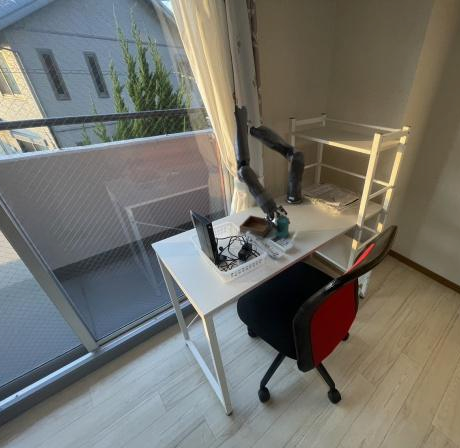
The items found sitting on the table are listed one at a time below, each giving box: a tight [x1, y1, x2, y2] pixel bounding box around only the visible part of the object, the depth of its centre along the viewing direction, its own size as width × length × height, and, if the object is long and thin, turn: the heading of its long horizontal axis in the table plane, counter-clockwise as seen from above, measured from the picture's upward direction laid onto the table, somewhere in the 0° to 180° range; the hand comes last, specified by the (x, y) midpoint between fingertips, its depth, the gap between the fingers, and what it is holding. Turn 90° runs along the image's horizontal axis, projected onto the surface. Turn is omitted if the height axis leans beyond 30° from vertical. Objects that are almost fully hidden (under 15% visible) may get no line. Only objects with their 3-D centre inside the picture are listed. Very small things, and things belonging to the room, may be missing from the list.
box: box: [239, 215, 271, 239], centre depth 129 cm, size 12×13×4 cm
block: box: [275, 216, 290, 239], centre depth 123 cm, size 5×5×10 cm
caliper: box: [245, 230, 276, 258], centre depth 115 cm, size 20×1×6 cm, turn 46°
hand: (284, 228), depth 123 cm, fingers open, 8 cm apart
